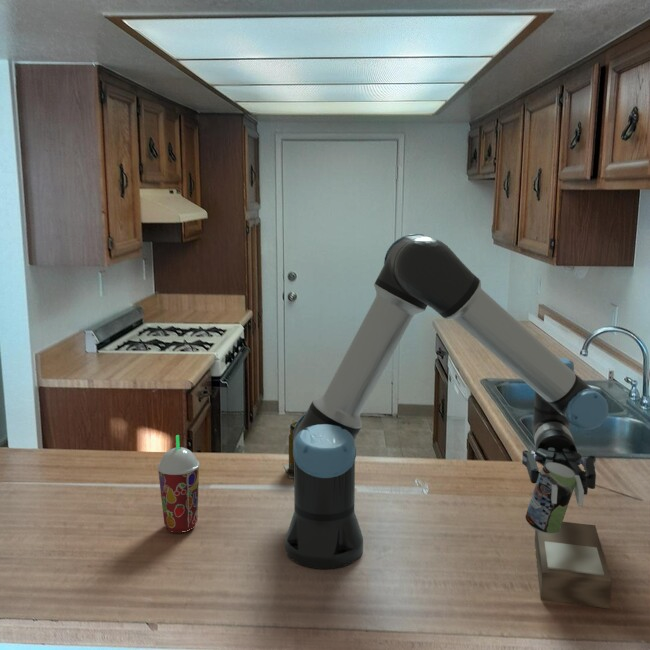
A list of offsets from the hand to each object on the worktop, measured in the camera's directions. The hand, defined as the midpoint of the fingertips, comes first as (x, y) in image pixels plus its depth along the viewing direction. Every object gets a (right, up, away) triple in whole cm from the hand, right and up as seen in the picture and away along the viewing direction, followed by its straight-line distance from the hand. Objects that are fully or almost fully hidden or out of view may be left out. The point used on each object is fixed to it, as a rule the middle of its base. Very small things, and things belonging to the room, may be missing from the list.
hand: (567, 497), depth 112 cm
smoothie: (-70, -14, +28) cm, 77 cm away
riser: (+4, -17, +11) cm, 21 cm away
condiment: (-47, -8, +57) cm, 74 cm away
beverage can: (-2, -8, +7) cm, 10 cm away
